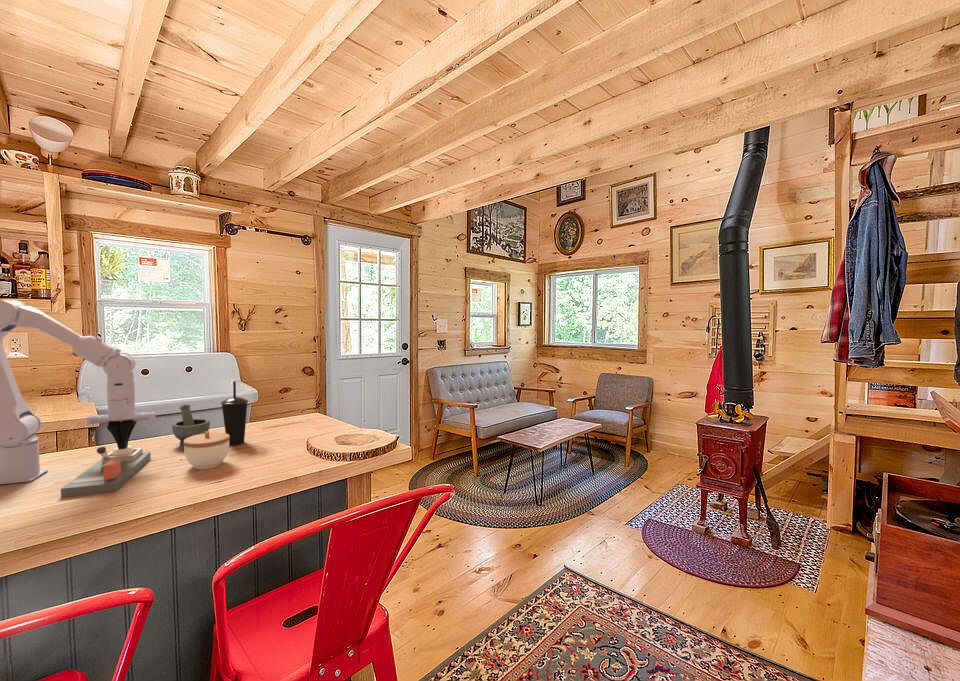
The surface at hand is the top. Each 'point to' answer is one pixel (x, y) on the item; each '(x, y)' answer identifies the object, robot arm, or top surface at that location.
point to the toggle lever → (103, 453)
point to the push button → (122, 451)
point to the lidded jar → (206, 449)
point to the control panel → (94, 476)
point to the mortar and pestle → (189, 425)
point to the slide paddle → (112, 469)
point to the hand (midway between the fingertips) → (122, 448)
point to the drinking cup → (235, 417)
